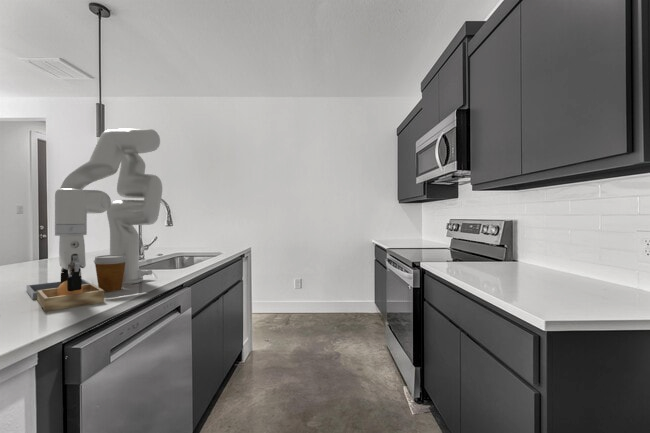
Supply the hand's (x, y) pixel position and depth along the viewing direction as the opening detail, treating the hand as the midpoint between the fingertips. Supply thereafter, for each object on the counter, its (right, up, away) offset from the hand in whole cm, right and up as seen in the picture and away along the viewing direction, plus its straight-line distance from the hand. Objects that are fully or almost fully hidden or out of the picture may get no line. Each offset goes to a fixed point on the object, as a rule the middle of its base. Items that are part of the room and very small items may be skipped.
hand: (70, 287), depth 97 cm
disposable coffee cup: (+3, -5, +14) cm, 15 cm away
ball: (0, -4, 0) cm, 4 cm away
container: (-12, -4, +11) cm, 17 cm away
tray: (0, -4, 0) cm, 4 cm away
